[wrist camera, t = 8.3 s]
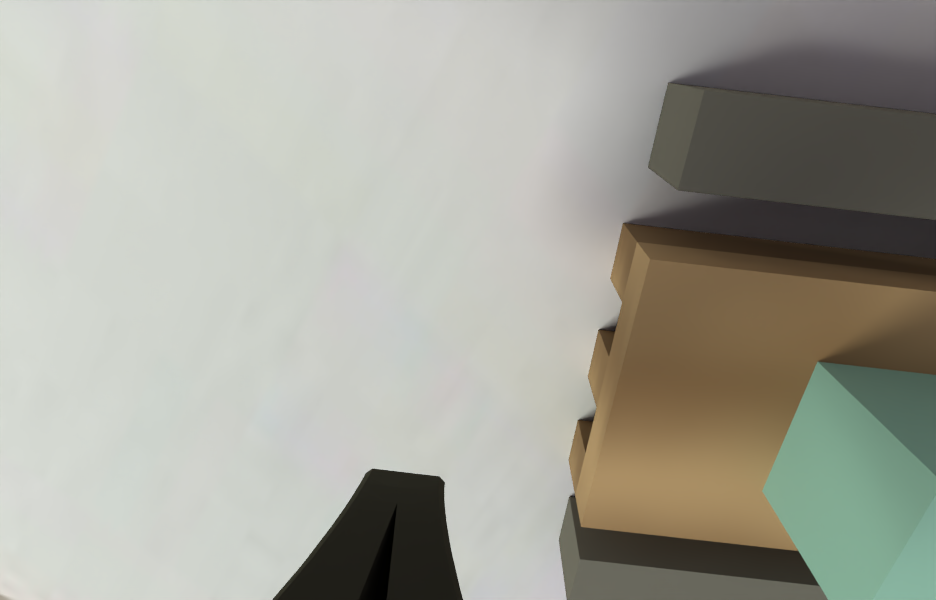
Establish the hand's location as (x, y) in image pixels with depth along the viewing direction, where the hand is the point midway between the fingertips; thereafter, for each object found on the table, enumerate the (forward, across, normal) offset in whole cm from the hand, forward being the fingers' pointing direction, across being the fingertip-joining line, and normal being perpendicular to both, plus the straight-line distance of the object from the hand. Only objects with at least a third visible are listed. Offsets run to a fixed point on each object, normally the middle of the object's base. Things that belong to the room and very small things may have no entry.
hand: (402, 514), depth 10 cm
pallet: (+7, -11, 0) cm, 13 cm away
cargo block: (+4, -11, 0) cm, 12 cm away
